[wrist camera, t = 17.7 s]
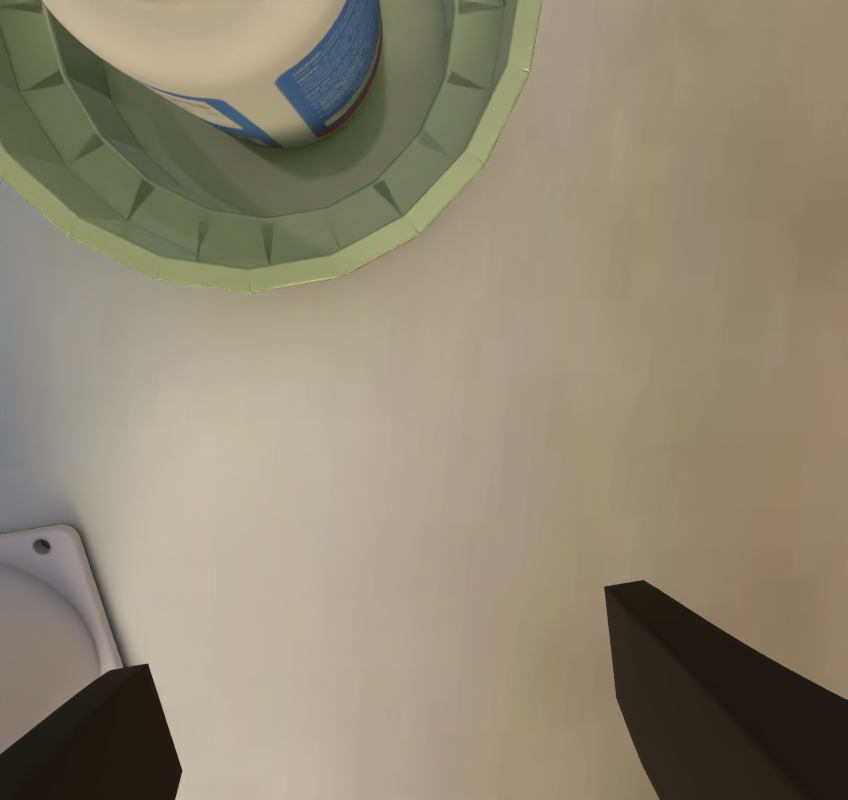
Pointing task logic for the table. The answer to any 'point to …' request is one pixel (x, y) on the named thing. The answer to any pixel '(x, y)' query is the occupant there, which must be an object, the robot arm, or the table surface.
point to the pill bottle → (241, 59)
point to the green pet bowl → (258, 150)
